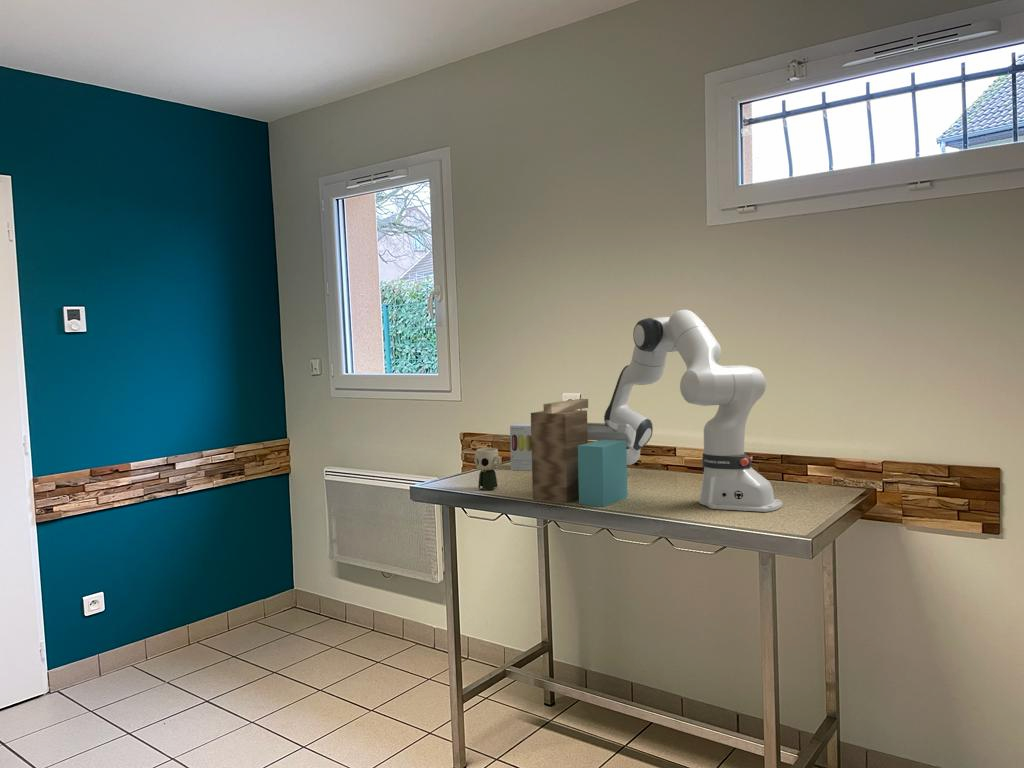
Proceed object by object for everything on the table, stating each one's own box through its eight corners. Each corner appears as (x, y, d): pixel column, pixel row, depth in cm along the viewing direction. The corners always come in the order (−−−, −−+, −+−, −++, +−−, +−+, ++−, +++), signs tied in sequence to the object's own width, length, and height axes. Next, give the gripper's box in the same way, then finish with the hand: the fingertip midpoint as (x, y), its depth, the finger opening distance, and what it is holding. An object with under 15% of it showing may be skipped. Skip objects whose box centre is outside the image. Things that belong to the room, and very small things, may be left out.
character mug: (468, 489, 252) (467, 449, 252) (483, 485, 258) (482, 447, 257) (492, 492, 245) (491, 451, 245) (507, 489, 251) (506, 449, 250)
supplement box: (509, 470, 289) (508, 425, 288) (515, 466, 298) (514, 422, 297) (535, 470, 287) (534, 425, 286) (539, 466, 296) (538, 422, 295)
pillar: (588, 495, 237) (587, 410, 236) (567, 502, 226) (565, 414, 225) (555, 491, 244) (553, 409, 243) (532, 499, 233) (530, 412, 232)
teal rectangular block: (627, 497, 232) (626, 440, 231) (603, 506, 220) (602, 447, 219) (603, 495, 236) (602, 439, 236) (579, 504, 224) (577, 445, 223)
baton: (588, 407, 246) (588, 398, 246) (551, 413, 228) (551, 404, 228) (580, 407, 247) (580, 398, 247) (543, 413, 229) (543, 403, 229)
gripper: (586, 429, 269) (568, 412, 259) (640, 431, 257) (624, 413, 247) (582, 445, 267) (564, 429, 256) (636, 448, 255) (619, 431, 245)
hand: (594, 421), depth 252 cm, fingers open, 8 cm apart
